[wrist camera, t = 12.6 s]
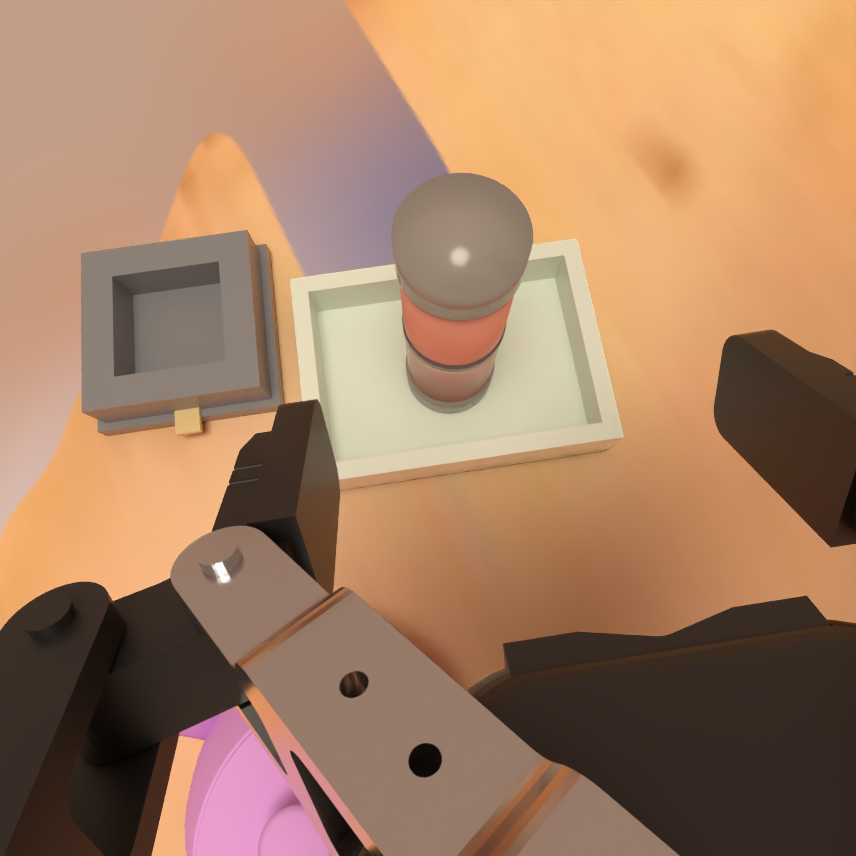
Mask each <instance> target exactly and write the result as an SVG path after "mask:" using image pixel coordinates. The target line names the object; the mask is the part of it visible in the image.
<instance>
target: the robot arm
mask: <svg viewBox="0 0 856 856" xmlns="http://www.w3.org/2000/svg"><path fill="white" fill-rule="evenodd" d="M714 417H715V422H716V425H717V428H718V430H719V432H720V434H721V435H722V437H723V438H724V439H725V440H726V441H727V442H728V443H729V444H730V445H731V446H732V447H733V448H734V449H735V450H736V451H737V452H738V453H739V454H740V455H741V456H742V457H743V458H744V459H745V460H746V461H747V462H748V463H749V464H750V465H751V466H752V467H753V469H754V470H755V471H756V472H757V473H758V474H759V475H760V476H761V477H762V478H763V479H764V480H765V481H766V482H767V483H768V484H769V485H770V486H771V487H772V488H773V489H774V490H775V491H776V492H777V493H778V494H779V495H780V496H781V497H782V498H783V499H784V500H785V501H786V502H787V503H788V504H789V505H790V506H791V507H792V508H793V509H794V510H795V511H796V513H797V514H798V515H799V516H800V517H801V518H802V519H803V520H804V521H805V522H806V523H807V524H808V525H809V526H810V527H811V528H812V529H813V530H814V531H815V532H816V533H817V534H818V535H819V536H820V537H821V538H822V539H823V540H824V541H825V542H826V543H827V544H828V545H829V546H830V547H837V546H843V545H850V544H856V375H855V376H854V375H853V372H852V371H850V370H849V369H847V368H845V367H844V366H842V365H840V364H839V363H837V362H836V361H834V360H832V359H829V358H826V357H823V356H820V355H817V354H814V353H811V352H809V351H807V350H805V349H804V348H802V347H801V346H799V345H798V344H796V343H794V342H793V341H791V340H790V339H788V338H786V337H785V336H783V335H782V334H780V333H778V332H777V331H775V330H765V331H759V332H752V333H746V334H739V335H733V336H730V337H729V338H728V339H727V340H726V342H725V344H724V347H723V351H722V357H721V364H720V371H719V377H718V384H717V390H716V397H715V403H714ZM229 484H230V485H228V486H227V489H226V492H225V495H224V498H223V501H222V504H221V506H220V509H219V512H218V515H217V518H216V521H215V524H214V527H213V530H212V532H211V533H208V534H206V535H204V536H202V537H201V538H199V539H197V540H196V541H194V542H193V543H192V544H190V545H189V546H188V547H187V548H186V549H185V550H184V551H183V552H182V553H181V554H180V555H179V556H178V558H177V559H176V561H175V562H174V564H173V567H172V570H171V576H170V577H171V578H169V579H167V580H166V581H163V582H161V583H159V584H156V585H154V586H151V587H149V588H146V589H144V590H141V591H138V592H136V593H133V594H131V595H128V596H125V597H123V598H120V599H118V600H115V601H113V600H112V599H111V597H110V596H109V594H108V592H107V591H106V589H105V588H104V587H103V586H101V585H99V584H97V583H93V582H76V583H71V584H67V585H63V586H60V587H58V588H55V589H53V590H50V591H48V592H46V593H44V594H42V595H40V596H39V597H37V598H35V599H34V600H32V601H31V602H29V603H28V604H26V605H25V606H24V607H22V608H21V609H20V610H19V611H17V612H16V613H15V614H14V615H13V616H12V617H11V618H10V619H9V620H8V621H7V623H6V624H5V625H4V626H3V628H2V629H1V631H0V856H151V855H152V851H153V846H154V842H155V838H156V833H157V829H158V825H159V820H160V816H161V811H162V807H163V803H164V798H165V794H166V790H167V785H168V781H169V776H170V772H171V768H172V763H173V759H174V755H175V750H176V746H177V742H178V737H179V733H180V732H182V731H184V730H186V729H188V728H190V727H192V726H195V725H197V724H199V723H201V722H203V721H205V720H207V719H210V718H212V717H214V716H216V715H218V714H220V713H223V712H225V711H227V710H229V709H231V708H233V707H236V709H237V710H238V712H239V713H240V715H241V716H242V718H243V719H244V720H245V722H246V723H247V725H248V726H249V728H250V729H251V731H252V732H253V734H254V735H255V736H256V738H257V739H258V741H259V742H260V744H261V745H262V747H263V748H264V750H265V751H266V752H267V754H268V755H269V757H270V758H271V760H272V761H273V763H274V764H275V766H276V767H277V768H278V770H279V771H280V773H281V774H282V776H283V777H284V779H285V780H286V782H287V783H288V784H289V786H290V787H291V789H292V790H293V792H294V794H295V795H296V797H297V798H298V800H299V802H300V803H301V805H302V807H303V808H304V810H305V812H306V813H307V815H308V817H309V819H310V820H311V822H312V824H313V825H314V827H315V829H316V830H317V832H318V833H319V835H320V837H321V838H322V840H323V841H324V843H325V844H326V846H327V847H328V849H329V850H330V852H331V853H332V855H333V856H856V623H849V622H842V621H836V620H826V618H825V617H824V616H823V615H822V614H821V612H820V611H819V610H818V609H817V608H816V606H815V605H814V604H813V603H812V602H811V601H810V599H809V598H808V597H807V596H802V597H796V598H789V599H783V600H777V601H770V602H764V603H758V604H751V605H745V606H739V607H732V608H730V609H728V610H725V611H723V612H721V613H718V614H716V615H714V616H711V617H709V618H707V619H704V620H702V621H700V622H698V623H695V624H693V625H691V626H688V627H686V628H684V629H681V630H679V631H677V632H674V633H672V634H669V635H666V636H640V635H623V634H606V633H589V632H574V633H567V634H561V635H555V636H548V637H542V638H536V639H529V640H523V641H517V642H510V643H504V644H503V647H504V658H505V669H502V670H500V671H498V672H496V673H493V674H492V675H490V676H488V677H486V678H485V679H483V680H481V681H480V682H478V683H477V684H475V685H474V686H473V687H471V688H470V689H469V690H467V691H466V690H465V689H464V688H462V687H461V686H460V685H459V684H458V683H457V682H456V681H455V680H453V679H452V678H451V677H450V676H449V675H448V674H447V673H445V672H444V671H443V670H442V669H441V668H440V667H439V666H437V665H436V664H435V663H434V662H433V661H432V660H431V659H429V658H428V657H427V656H426V655H425V654H424V653H423V652H422V651H420V650H419V649H418V648H417V647H416V646H415V645H414V644H412V643H411V642H410V641H409V640H408V639H407V638H406V637H404V636H403V635H402V634H401V633H400V632H399V631H398V630H397V629H395V628H394V627H393V626H392V625H391V624H390V623H389V622H387V621H386V620H385V619H384V618H383V617H382V616H381V615H379V614H378V613H377V612H376V611H375V610H374V609H373V608H371V607H370V606H369V605H368V604H367V603H366V602H365V601H364V600H362V599H361V598H360V597H359V596H358V595H357V594H355V593H354V592H353V591H351V590H350V589H348V588H345V587H341V588H339V589H338V590H337V591H335V592H334V593H333V586H334V572H335V557H336V543H337V529H338V515H339V501H340V484H339V476H338V470H337V465H336V461H335V457H334V453H333V450H332V446H331V442H330V438H329V434H328V430H327V427H326V423H325V419H324V415H323V411H322V408H321V405H320V403H319V401H318V399H314V400H307V401H301V402H294V403H288V404H281V405H279V406H278V409H277V413H276V416H275V420H274V424H273V427H272V431H269V432H263V433H256V434H255V435H254V436H253V437H252V438H251V439H250V440H249V441H248V442H247V443H246V444H245V445H244V447H243V448H242V449H241V450H240V452H239V454H238V457H237V460H236V463H235V466H234V471H233V472H232V475H231V478H230V480H229Z"/></svg>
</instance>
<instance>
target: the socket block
mask: <svg viewBox="0 0 856 856" xmlns="http://www.w3.org/2000/svg"><path fill="white" fill-rule="evenodd" d="M81 317H82V318H81V320H82V321H81V323H82V326H81V331H82V412H83V413H85V414H87V415H89V416H92V417H94V418H96V419H98V432H99V433H102V434H104V435H106V436H108V435H115V434H122V433H129V432H136V431H142V430H149V429H156V428H163V427H170V426H175V435H177V436H182V435H189V434H195V433H202V432H203V430H202V422H204V421H211V420H218V419H224V418H231V417H238V416H245V415H252V414H259V413H265V412H272V411H277V409H278V406H279V405H281V404H284V396H283V385H282V374H281V363H280V352H279V341H278V331H277V320H276V309H275V298H274V287H273V276H272V265H271V255H270V251H269V249H268V247H267V245H266V244H263V245H255V243H254V242H253V240H252V238H251V236H250V234H249V233H248V231H247V230H244V231H237V232H230V233H223V234H216V235H209V236H201V237H194V238H185V239H177V240H170V241H166V242H158V243H151V244H144V245H137V246H130V247H123V248H116V249H108V250H101V251H94V252H87V253H81Z"/></svg>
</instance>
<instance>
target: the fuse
mask: <svg viewBox="0 0 856 856" xmlns="http://www.w3.org/2000/svg"><path fill="white" fill-rule="evenodd" d="M532 244H533V229H532V223H531V220H530V217H529V214H528V212H527V210H526V208H525V207H524V205H523V203H522V202H521V201H520V200H519V198H518V197H517V196H516V195H515V194H514V193H513V192H512V191H511V190H509V189H508V188H507V187H505V186H504V185H502V184H501V183H499V182H497V181H495V180H493V179H490V178H488V177H484V176H481V175H476V174H470V173H453V174H447V175H442V176H439V177H435V178H433V179H430V180H428V181H426V182H424V183H423V184H421V185H419V186H418V187H416V188H415V189H414V190H413V191H411V192H410V193H409V195H408V196H406V198H405V199H404V200H403V202H402V203H401V205H400V206H399V208H398V210H397V212H396V214H395V217H394V221H393V225H392V246H393V255H394V264H395V271H396V276H397V279H398V281H399V284H400V292H401V302H402V325H403V332H404V337H405V342H406V352H407V355H406V372H407V380H408V384H409V387H410V390H411V391H412V393H413V395H414V396H415V398H416V399H417V400H418V401H419V402H420V403H421V404H423V405H424V406H425V407H427V408H429V409H431V410H433V411H436V412H440V413H447V414H452V413H459V412H463V411H466V410H468V409H470V408H472V407H473V406H475V405H476V404H477V403H479V402H480V401H481V400H482V398H483V397H484V396H485V394H486V393H487V391H488V389H489V386H490V382H491V379H492V376H493V373H494V366H495V359H496V355H497V352H498V348H499V346H500V344H501V342H502V339H503V336H504V333H505V329H506V322H507V318H508V315H509V312H510V308H511V305H512V301H513V298H514V295H515V293H516V291H517V290H518V288H519V286H520V284H521V282H522V279H523V275H524V272H525V269H526V266H527V263H528V259H529V256H530V253H531V250H532Z"/></svg>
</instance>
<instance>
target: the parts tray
mask: <svg viewBox="0 0 856 856" xmlns="http://www.w3.org/2000/svg"><path fill="white" fill-rule="evenodd" d="M290 285H291V295H292V305H293V315H294V325H295V335H296V345H297V355H298V365H299V375H300V385H301V395H302V401H307V400H314V399H318V401H319V403H320V405H321V408H322V411H323V415H324V419H325V423H326V427H327V430H328V434H329V438H330V442H331V446H332V450H333V453H334V457H335V461H336V465H337V470H338V476H339V484H340V490H346V489H353V488H360V487H366V486H373V485H380V484H386V483H393V482H400V481H406V480H413V479H420V478H426V477H433V476H440V475H446V474H453V473H460V472H466V471H473V470H480V469H486V468H493V467H500V466H507V465H513V464H520V463H527V462H533V461H540V460H547V459H553V458H560V457H567V456H573V455H580V454H587V453H593V452H600V451H605V450H607V449H608V448H610V447H611V446H612V445H614V444H615V443H617V442H618V441H619V440H621V439H622V438H624V434H623V430H622V426H621V422H620V417H619V413H618V409H617V405H616V401H615V396H614V392H613V388H612V384H611V379H610V375H609V371H608V367H607V363H606V358H605V354H604V350H603V346H602V341H601V337H600V333H599V329H598V325H597V320H596V316H595V312H594V308H593V303H592V299H591V295H590V291H589V287H588V282H587V278H586V274H585V270H584V265H583V261H582V257H581V253H580V249H579V244H578V240H577V238H575V239H568V240H561V241H554V242H547V243H540V244H533V245H532V250H531V253H530V256H529V259H528V263H527V266H526V269H525V272H524V275H523V279H522V282H521V284H520V286H519V288H518V290H517V291H516V293H515V295H514V298H513V301H512V305H511V308H510V312H509V315H508V318H507V322H506V329H505V333H504V336H503V339H502V342H501V344H500V346H499V348H498V352H497V355H496V359H495V366H494V373H493V376H492V379H491V382H490V386H489V389H488V391H487V393H486V394H485V396H484V397H483V398H482V400H481V401H480V402H479V403H477V404H476V405H475V406H473V407H472V408H470V409H468V410H466V411H463V412H459V413H452V414H447V413H440V412H436V411H433V410H431V409H429V408H427V407H425V406H424V405H423V404H421V403H420V402H419V401H418V400H417V399H416V398H415V396H414V395H413V393H412V391H411V390H410V387H409V384H408V380H407V372H406V355H407V352H406V342H405V337H404V332H403V325H402V302H401V292H400V284H399V281H398V279H397V276H396V271H395V264H392V265H385V266H378V267H371V268H364V269H357V270H350V271H343V272H335V273H328V274H322V275H314V276H307V277H300V278H293V279H290Z"/></svg>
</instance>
